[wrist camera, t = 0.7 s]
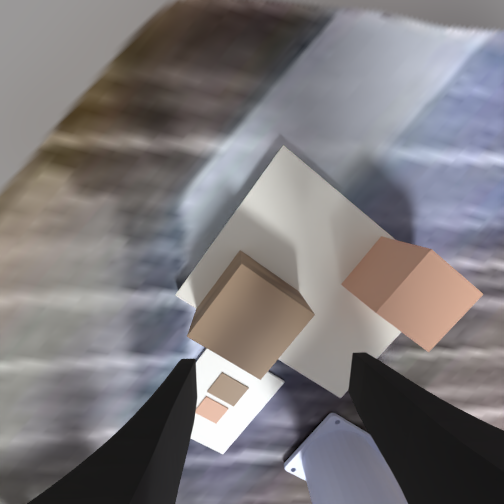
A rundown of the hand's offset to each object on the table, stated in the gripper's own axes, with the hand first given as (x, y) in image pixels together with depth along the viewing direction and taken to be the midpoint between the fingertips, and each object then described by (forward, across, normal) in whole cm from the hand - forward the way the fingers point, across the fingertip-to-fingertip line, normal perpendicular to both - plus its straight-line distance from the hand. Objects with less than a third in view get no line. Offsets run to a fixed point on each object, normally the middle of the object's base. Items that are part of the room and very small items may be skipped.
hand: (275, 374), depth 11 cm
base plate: (+10, -5, -1) cm, 11 cm away
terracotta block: (+9, -10, -1) cm, 14 cm away
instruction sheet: (+10, +3, +11) cm, 15 cm away
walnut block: (+9, +1, 0) cm, 9 cm away
